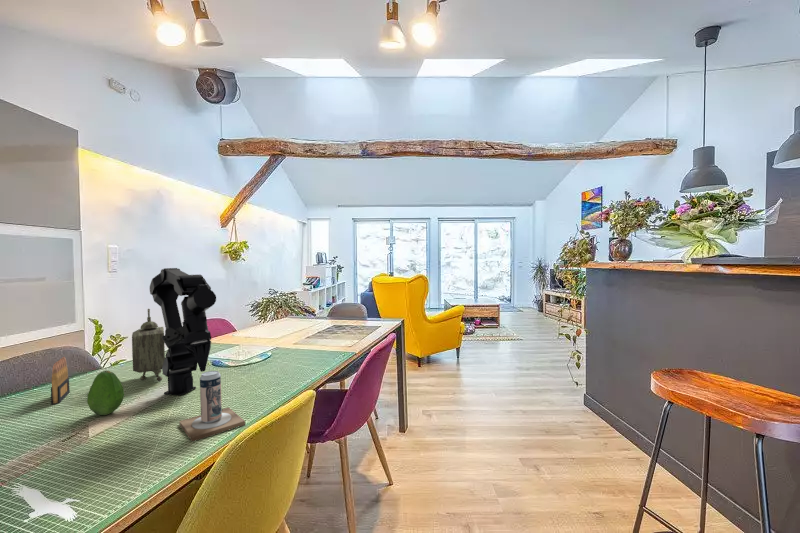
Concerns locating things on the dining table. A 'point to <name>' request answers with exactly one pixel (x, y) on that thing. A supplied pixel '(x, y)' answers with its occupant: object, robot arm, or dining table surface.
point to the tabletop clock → (148, 348)
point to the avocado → (105, 393)
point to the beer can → (210, 396)
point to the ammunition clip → (59, 381)
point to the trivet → (210, 425)
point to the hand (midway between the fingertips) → (202, 370)
